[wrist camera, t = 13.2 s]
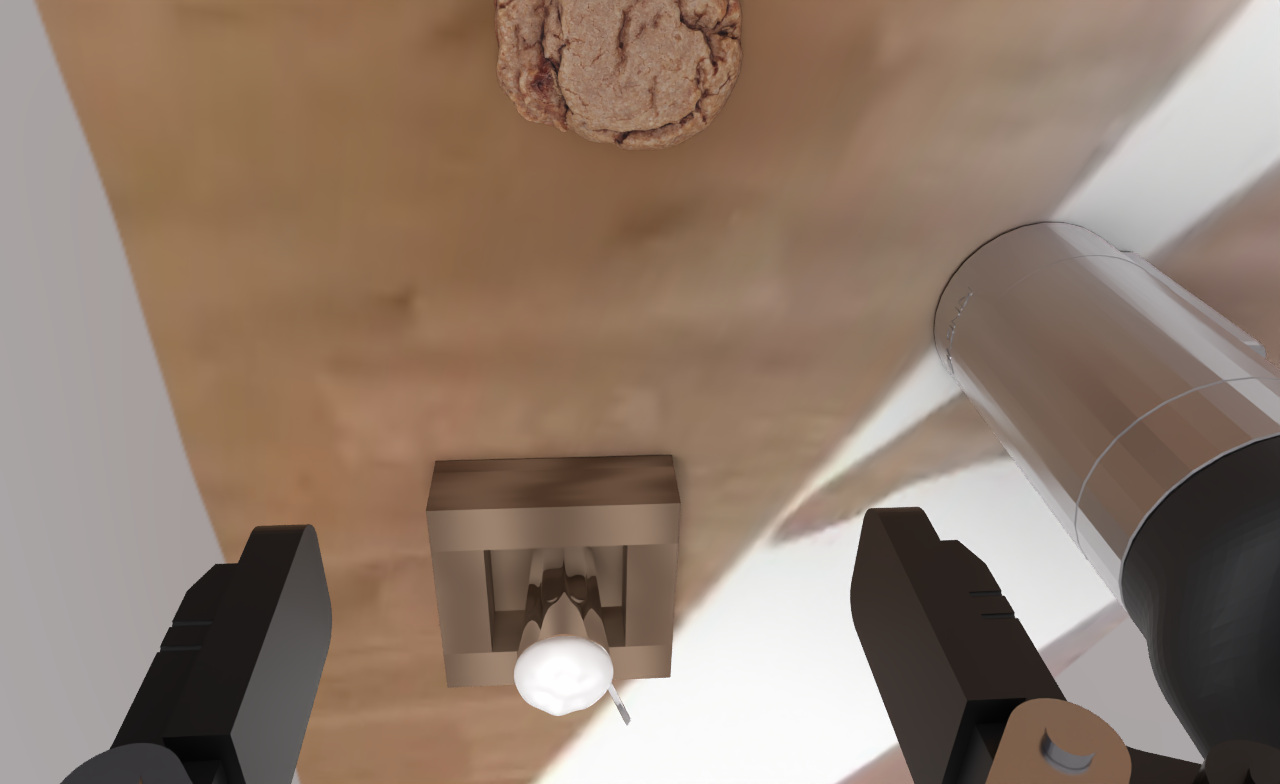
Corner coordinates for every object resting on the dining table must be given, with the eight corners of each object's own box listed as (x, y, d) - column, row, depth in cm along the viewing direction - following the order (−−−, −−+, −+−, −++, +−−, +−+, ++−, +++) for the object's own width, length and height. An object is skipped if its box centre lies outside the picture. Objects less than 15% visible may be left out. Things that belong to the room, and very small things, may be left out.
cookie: (670, 186, 40) (678, 210, 37) (443, 68, 37) (435, 86, 34) (796, -32, 36) (815, -22, 33) (553, -188, 33) (552, -190, 30)
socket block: (671, 455, 47) (680, 503, 44) (662, 623, 53) (670, 677, 50) (435, 461, 46) (426, 511, 43) (454, 632, 52) (447, 687, 49)
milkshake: (601, 600, 51) (610, 754, 42) (508, 577, 49) (498, 732, 41) (631, 540, 49) (648, 689, 40) (535, 514, 47) (531, 664, 39)
